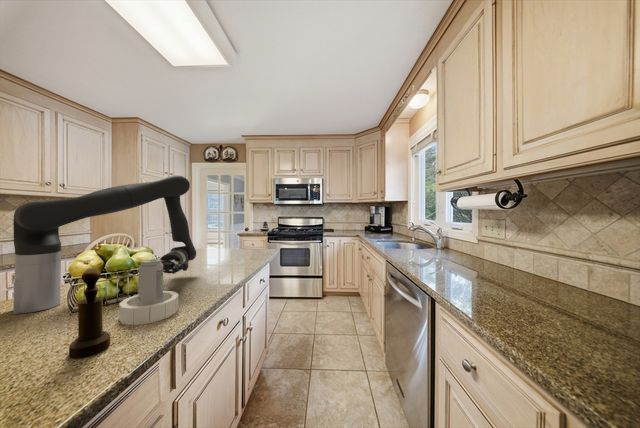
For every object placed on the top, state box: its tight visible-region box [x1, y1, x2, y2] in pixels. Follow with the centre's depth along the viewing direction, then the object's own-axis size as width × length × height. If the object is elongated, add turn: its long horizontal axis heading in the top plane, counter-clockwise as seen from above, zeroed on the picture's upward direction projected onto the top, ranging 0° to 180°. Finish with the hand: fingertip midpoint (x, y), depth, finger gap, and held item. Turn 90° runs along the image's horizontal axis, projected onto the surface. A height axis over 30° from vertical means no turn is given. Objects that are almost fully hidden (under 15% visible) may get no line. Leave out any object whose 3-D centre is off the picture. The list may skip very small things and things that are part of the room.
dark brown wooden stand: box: [68, 268, 111, 360], centre depth 52 cm, size 7×6×18 cm
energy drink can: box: [137, 258, 164, 306], centre depth 70 cm, size 6×6×15 cm
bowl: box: [118, 290, 179, 326], centre depth 70 cm, size 14×14×4 cm
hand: (158, 271), depth 77 cm, fingers open, 8 cm apart
